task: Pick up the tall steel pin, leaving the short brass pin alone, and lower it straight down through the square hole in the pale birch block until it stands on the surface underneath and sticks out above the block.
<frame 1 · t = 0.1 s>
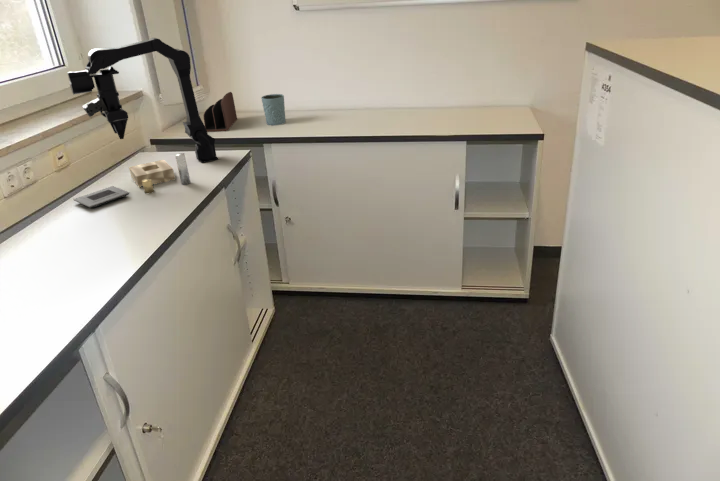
hand: (119, 136, 183), 15 cm above the table, tool pointing down, fingers open, 9 cm apart
steel pin: (185, 183, 181), on the table
grey rectangular tray: (103, 202, 171), on the table
letter holder: (222, 126, 246), on the table
teal embossed pot: (275, 123, 246), on the table
hole block: (153, 178, 187), on the table
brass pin: (149, 191, 176), on the table
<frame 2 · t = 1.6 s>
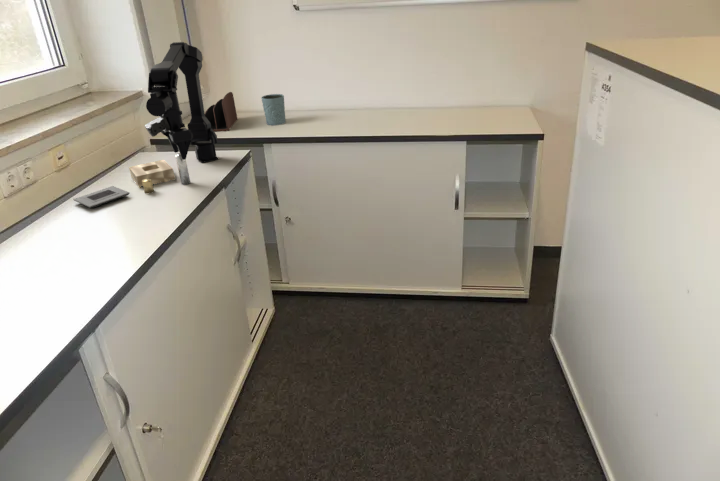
hand: (180, 155, 177), 10 cm above the table, tool pointing down, fingers open, 9 cm apart
nothing on the table moved.
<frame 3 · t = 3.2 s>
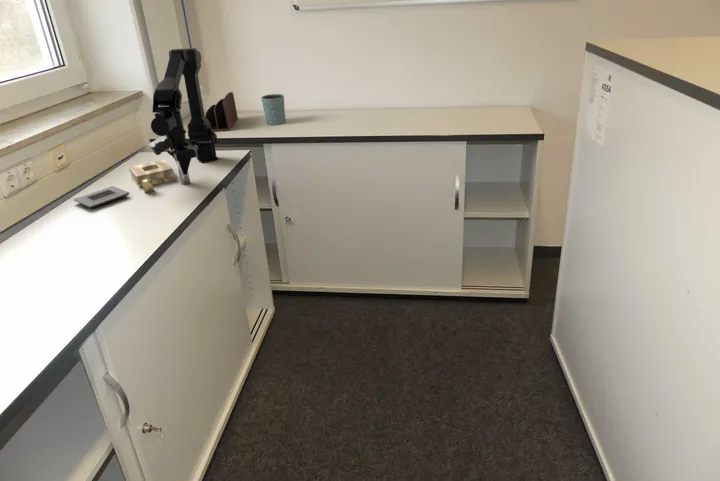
hand: (183, 173, 180), 4 cm above the table, tool pointing down, fingers closed on steel pin, 3 cm apart
steel pin: (185, 183, 181), on the table, touching gripper
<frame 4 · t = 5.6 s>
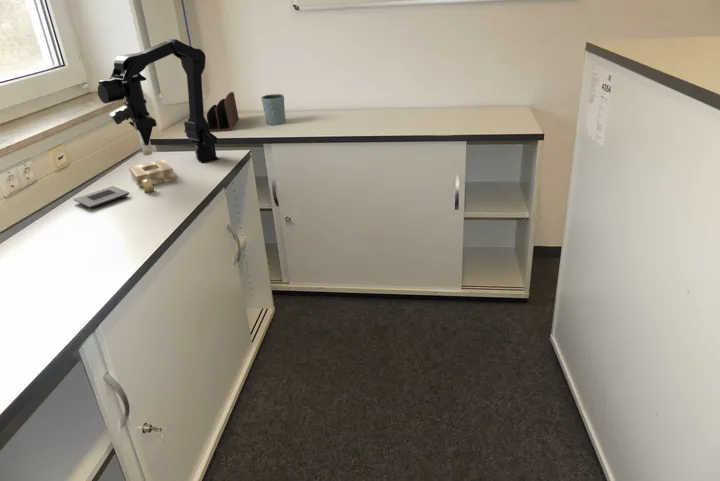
hand: (145, 143, 181), 13 cm above the table, tool pointing down, fingers closed on steel pin, 3 cm apart
steel pin: (148, 153, 183), point 9 cm above the table, touching gripper
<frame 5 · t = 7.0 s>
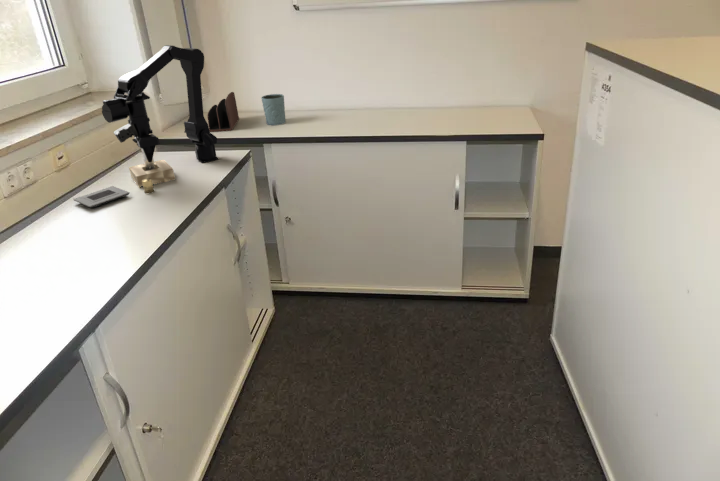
hand: (149, 160, 184), 7 cm above the table, tool pointing down, fingers closed on steel pin, 3 cm apart
steel pin: (151, 170, 186), point 3 cm above the table, touching gripper
when the fingers open (5 cm above the table, at t = 8.1 s): steel pin drops 1 cm, resting in hole block.
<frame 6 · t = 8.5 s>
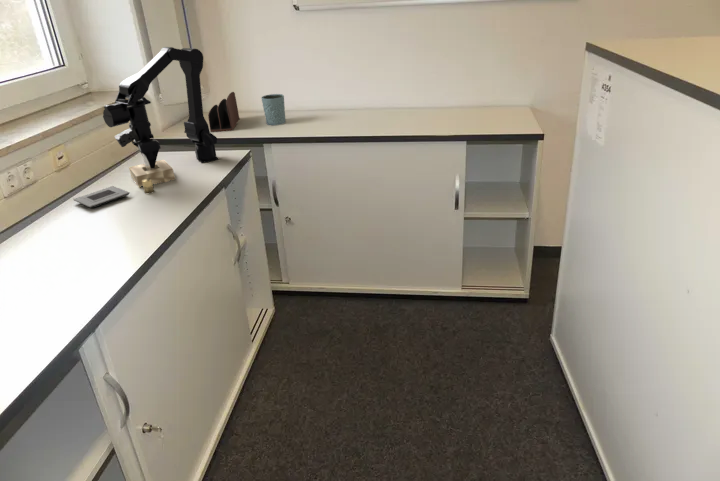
hand: (149, 164, 185), 5 cm above the table, tool pointing down, fingers open, 8 cm apart
steel pin: (153, 178, 187), resting in hole block
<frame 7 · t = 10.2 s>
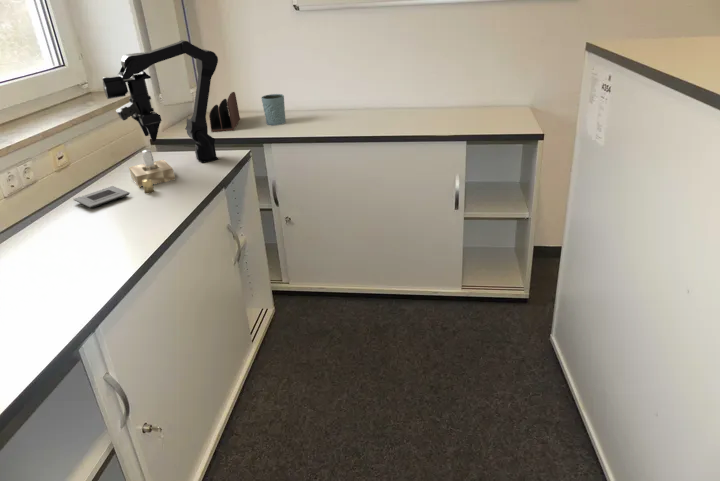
hand: (150, 138, 189), 12 cm above the table, tool pointing down, fingers open, 9 cm apart
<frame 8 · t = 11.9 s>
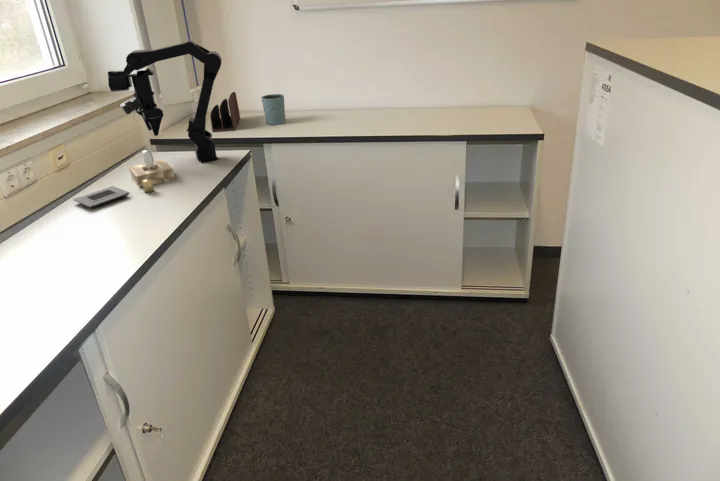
hand: (153, 132, 195), 12 cm above the table, tool pointing down, fingers open, 9 cm apart
at the end: steel pin 0.0 cm off-centre on the hole block, point 0.0 cm above the hole block's base; steel pin tilted 0°; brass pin moved 0.0 cm from its start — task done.
